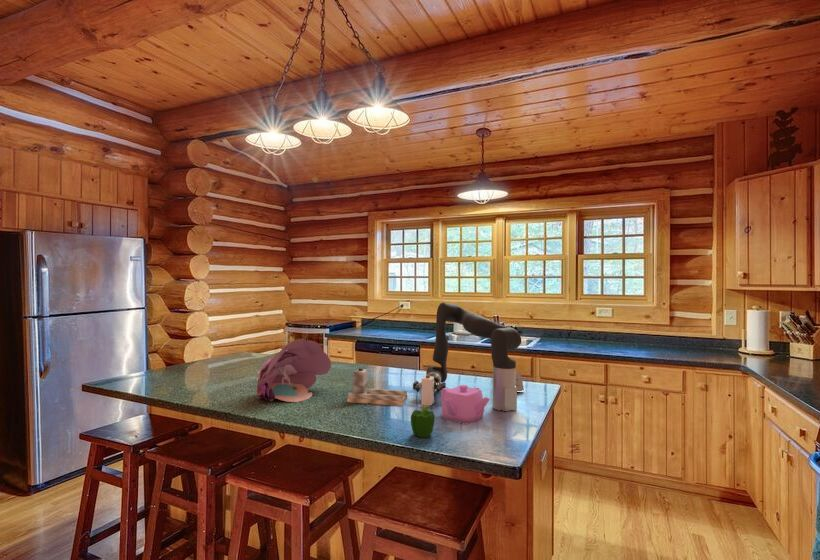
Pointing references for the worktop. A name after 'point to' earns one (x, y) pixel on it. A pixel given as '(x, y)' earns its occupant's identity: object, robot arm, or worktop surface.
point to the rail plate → (373, 392)
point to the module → (427, 390)
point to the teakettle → (463, 404)
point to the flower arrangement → (292, 371)
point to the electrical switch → (519, 382)
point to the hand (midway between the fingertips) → (427, 390)
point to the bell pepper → (422, 422)
